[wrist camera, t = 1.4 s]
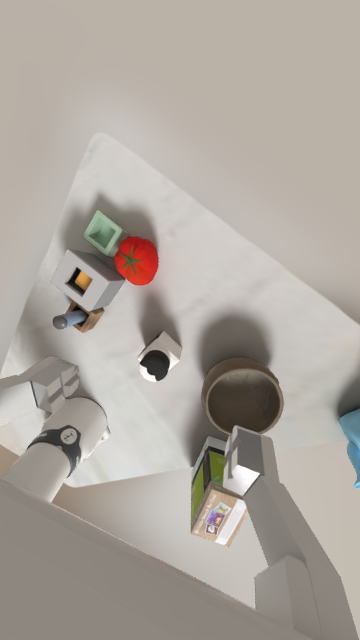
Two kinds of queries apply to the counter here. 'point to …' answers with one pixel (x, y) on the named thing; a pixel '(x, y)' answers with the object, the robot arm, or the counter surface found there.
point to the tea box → (214, 497)
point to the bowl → (242, 396)
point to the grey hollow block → (102, 275)
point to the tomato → (137, 260)
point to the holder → (90, 321)
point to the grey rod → (70, 319)
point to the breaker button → (83, 280)
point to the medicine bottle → (159, 357)
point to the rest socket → (105, 234)
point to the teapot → (353, 439)
